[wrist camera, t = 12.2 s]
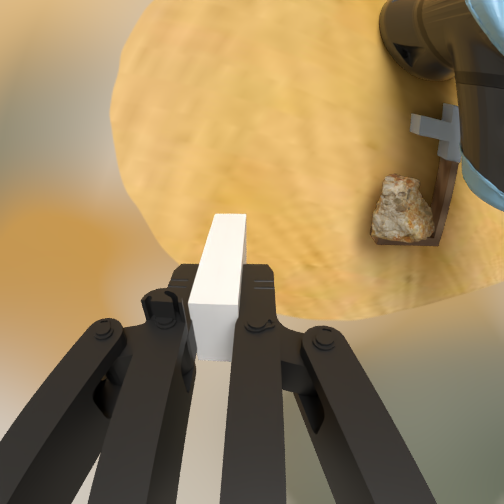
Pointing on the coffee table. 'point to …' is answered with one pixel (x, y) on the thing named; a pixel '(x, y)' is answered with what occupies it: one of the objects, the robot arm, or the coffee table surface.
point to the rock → (402, 211)
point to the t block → (441, 131)
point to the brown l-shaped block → (435, 205)
